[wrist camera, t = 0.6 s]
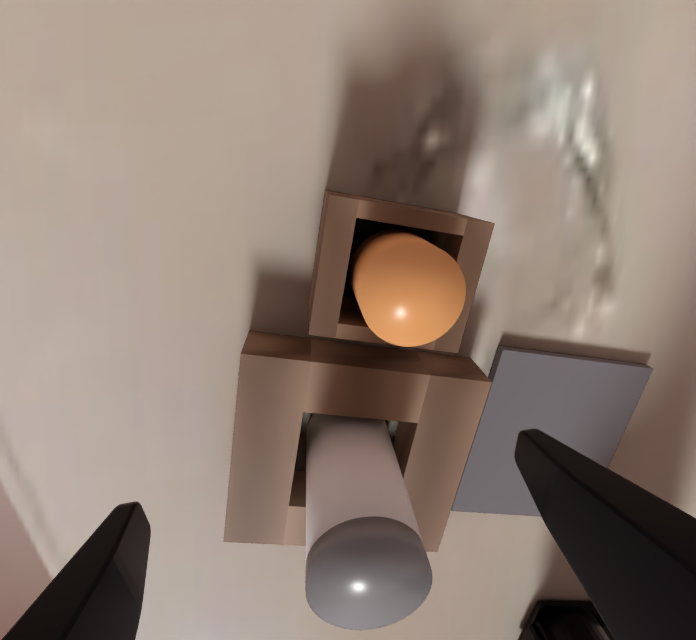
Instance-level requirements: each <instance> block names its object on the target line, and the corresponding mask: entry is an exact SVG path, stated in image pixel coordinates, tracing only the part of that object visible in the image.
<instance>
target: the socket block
mask: <svg viewBox="0 0 696 640" xmlns="http://www.w3.org/2000/svg"><path fill="white" fill-rule="evenodd" d="M356 218H361V219H367V220H373V221H379V222H385V223H391V224H397V225H403V226H409V227H415V228H421V229H426V230H431V232H430V236H429V240H428V242H429V243H431V244H433V245H434V246H436V247H438V248H440V249H441V250H443V251H445V252H446V253H448V254H449V255H450V256H451V257H452V258H453V259H454V260H455V261H456V262H457V264H458V265H459V267H460V269H461V271H462V273H463V276H464V280H465V285H466V296H465V302H464V306H463V309H462V311H461V313H460V316H459V317H458V319H457V321H456V322H455V323H454V325H453V326H452V327H451V328H450V329H449V330H448V331H447V332H446V333H445V334H443V335H442V336H441V337H439V338H438V339H436V340H434V341H432V342H430V343H427V344H424V345H420V346H412V348H420V349H428V350H436V351H444V352H452V353H458V351H459V348H460V344H461V341H462V337H463V334H464V330H465V327H466V323H467V320H468V316H469V313H470V309H471V305H472V302H473V298H474V295H475V291H476V288H477V284H478V281H479V277H480V274H481V270H482V267H483V263H484V260H485V256H486V253H487V249H488V245H489V242H490V238H491V235H492V231H493V228H494V224H495V223H491V222H487V221H483V220H480V219H476V218H472V217H469V216H465V215H461V214H458V213H452V212H446V211H441V210H435V209H429V208H424V207H418V206H412V205H407V204H401V203H395V202H390V201H384V200H378V199H373V198H367V197H361V196H356V195H350V194H344V193H339V192H333V191H327V190H325V194H324V200H323V207H322V214H321V221H320V228H319V235H318V242H317V249H316V255H315V262H314V269H313V276H312V283H311V290H310V297H309V304H308V312H309V335H314V336H322V337H330V338H339V339H347V340H355V341H363V342H371V343H379V344H387V345H394V344H391V343H388V342H386V341H384V340H382V339H381V338H379V337H378V336H377V335H376V334H375V333H373V331H372V330H371V329H370V328H369V326H368V325H367V323H366V321H365V319H364V317H363V315H362V312H361V309H360V307H359V304H358V302H357V299H356V298H352V297H345V296H343V292H344V286H345V280H346V274H347V269H348V263H349V257H350V251H351V245H352V240H353V234H354V228H355V222H356ZM395 346H398V345H395ZM403 347H405V346H403ZM491 383H492V382H491V381H490V380H489V378H488V377H487V376H486V375H485V374H484V373H483V372H482V370H481V369H480V368H479V367H478V366H477V365H476V364H475V362H474V361H473V360H472V359H471V358H467V357H459V356H451V355H443V354H434V353H426V352H418V351H410V350H402V349H393V348H385V347H377V346H369V345H361V344H352V343H344V342H336V341H328V340H320V339H311V338H303V337H295V336H287V335H279V334H270V333H262V332H254V331H249V333H248V336H247V338H246V341H245V344H244V347H243V349H242V352H241V357H240V368H239V379H238V390H237V401H236V412H235V422H234V433H233V444H232V455H231V466H230V477H229V487H228V498H227V509H226V520H225V531H224V541H223V542H237V543H258V544H279V545H300V546H306V471H301V470H294V468H295V462H296V456H297V449H298V443H299V436H300V430H301V423H302V417H303V412H307V413H318V414H328V415H339V416H349V417H360V418H370V419H381V420H391V421H399V422H398V427H397V431H396V435H395V439H394V443H393V448H394V451H395V454H396V458H397V461H398V464H399V467H400V470H401V474H402V477H403V480H404V483H405V487H406V490H407V493H408V496H409V499H410V503H411V506H412V509H413V512H414V515H415V519H416V522H417V525H418V528H419V531H420V535H421V538H422V541H423V544H424V548H425V551H427V552H437V551H438V548H439V545H440V542H441V539H442V536H443V533H444V530H445V527H446V523H447V520H448V517H449V514H450V511H451V508H452V505H453V502H454V499H455V495H456V492H457V489H458V486H459V483H460V480H461V477H462V474H463V471H464V467H465V464H466V461H467V458H468V455H469V452H470V449H471V446H472V443H473V439H474V436H475V433H476V430H477V427H478V424H479V421H480V418H481V415H482V411H483V408H484V405H485V402H486V399H487V396H488V393H489V390H490V387H491Z"/></svg>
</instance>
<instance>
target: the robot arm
mask: <svg viewBox="0 0 696 640" xmlns="http://www.w3.org/2000/svg"><path fill="white" fill-rule="evenodd" d="M514 458H515V462H516V465H517V467H518V469H519V471H520V473H521V475H522V477H523V479H524V481H525V483H526V486H527V488H528V490H529V492H530V494H531V496H532V498H533V500H534V502H535V504H536V506H537V509H538V511H539V513H540V515H541V517H542V519H543V520H544V522H545V524H546V526H547V528H548V529H549V531H550V533H551V534H552V536H553V538H554V539H555V541H556V543H557V544H558V546H559V548H560V549H561V551H562V553H563V554H564V556H565V558H566V559H567V561H568V563H569V564H570V566H571V568H572V569H573V571H574V572H575V574H576V576H577V577H578V579H579V581H580V582H581V584H582V586H583V587H584V589H585V591H586V592H587V594H588V596H589V597H590V599H591V601H592V602H570V601H540V602H539V603H537V605H536V607H535V609H534V611H533V613H532V616H531V618H530V620H529V622H528V624H527V627H526V629H525V631H524V633H523V635H522V638H521V640H696V518H694V517H692V516H691V515H689V514H687V513H685V512H684V511H682V510H680V509H678V508H676V507H675V506H673V505H671V504H669V503H668V502H666V501H664V500H662V499H661V498H659V497H657V496H655V495H654V494H652V493H650V492H648V491H647V490H645V489H643V488H641V487H639V486H638V485H636V484H634V483H632V482H631V481H629V480H627V479H625V478H624V477H622V476H620V475H618V474H617V473H615V472H613V471H611V470H609V469H608V468H606V467H604V466H602V465H601V464H599V463H597V462H595V461H594V460H592V459H590V458H588V457H587V456H585V455H583V454H581V453H579V452H578V451H576V450H574V449H572V448H571V447H569V446H567V445H565V444H564V443H562V442H560V441H558V440H557V439H555V438H553V437H551V436H549V435H548V434H546V433H544V432H542V431H541V430H539V429H536V428H532V429H526V430H522V431H520V432H519V433H518V437H517V442H516V447H515V452H514ZM150 535H151V530H150V524H149V522H148V520H147V517H146V515H145V513H144V511H143V509H142V506H141V505H140V503H139V502H130V503H125V504H120V505H118V506H117V507H115V508H114V510H113V511H112V512H111V513H110V514H109V515H108V517H107V518H106V519H105V520H104V521H103V522H102V524H101V525H100V526H99V527H98V528H97V529H96V530H95V532H94V533H93V534H92V535H91V536H90V537H89V539H88V540H87V541H86V542H85V543H84V544H83V546H82V547H81V548H80V549H79V550H78V551H77V553H76V554H75V555H74V556H73V557H72V558H71V560H70V561H69V562H68V563H67V564H66V565H65V566H64V568H63V569H62V570H61V571H60V572H59V573H58V575H57V576H56V577H55V578H54V579H53V580H52V582H51V583H50V584H49V585H48V586H47V587H46V589H45V590H44V591H43V592H42V593H41V594H40V596H39V597H38V598H37V599H36V600H35V601H34V603H33V604H32V605H31V606H30V607H29V608H28V610H27V611H26V612H25V613H24V614H23V615H22V616H21V618H20V619H19V620H18V621H17V622H16V624H15V625H14V626H13V627H12V628H11V629H10V630H9V632H8V633H7V634H6V635H5V636H4V637H3V638H2V640H135V638H136V633H137V629H138V624H139V619H140V614H141V609H142V602H143V594H144V586H145V578H146V569H147V561H148V552H149V544H150Z"/></svg>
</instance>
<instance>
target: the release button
mask: <svg viewBox="0 0 696 640" xmlns="http://www.w3.org/2000/svg"><path fill="white" fill-rule="evenodd" d="M350 282H351V286H352V289H353V291H354V294H355V297H356V299H357V302H358V304H359V307H360V309H361V312H362V315H363V317H364V319H365V321H366V323H367V325H368V326H369V328H370V329H371V330H372V331H373V333H375V334H376V335H377V336H378V337H379V338H381V339H382V340H384V341H386V342H388V343H391V344H394V345H398V346H405V347H412V346H420V345H424V344H427V343H430V342H432V341H434V340H436V339H438V338H439V337H441V336H442V335H443V334H445V333H446V332H447V331H448V330H449V329H450V328H451V327H452V326H453V325H454V323H455V322H456V321H457V319H458V317H459V316H460V313H461V311H462V309H463V306H464V302H465V296H466V285H465V280H464V276H463V273H462V271H461V269H460V267H459V265H458V264H457V262H456V261H455V260H454V259H453V258H452V257H451V256H450V255H449V254H448V253H446V252H445V251H443V250H441V249H440V248H438V247H436V246H434V245H433V244H431V243H429V242H427V241H426V240H424V239H422V238H421V237H419V236H417V235H415V234H413V233H411V232H409V231H406V230H402V229H388V230H383V231H380V232H377V233H375V234H373V235H372V236H370V237H368V238H367V239H366V240H365V241H364V242H363V243H362V244H361V245H360V246H359V247H358V249H357V250H356V252H355V254H354V256H353V258H352V261H351V265H350Z"/></svg>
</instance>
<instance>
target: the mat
mask: <svg viewBox="0 0 696 640" xmlns="http://www.w3.org/2000/svg"><path fill="white" fill-rule="evenodd" d="M652 371H653V368H651V367H649V366H647V365H646V364H638V363H630V362H622V361H615V360H607V359H599V358H591V357H583V356H576V355H568V354H560V353H552V352H544V351H537V350H529V349H521V348H513V347H505V346H498V349H497V352H496V355H495V359H494V362H493V365H492V368H491V371H490V374H489V377H488V378H489V380H490V381H491V382H492V383H491V387H490V390H489V393H488V396H487V399H486V402H485V405H484V408H483V411H482V415H481V418H480V421H479V424H478V427H477V430H476V433H475V436H474V439H473V443H472V446H471V449H470V452H469V455H468V458H467V461H466V464H465V467H464V471H463V474H462V477H461V480H460V483H459V486H458V489H457V492H456V495H455V499H454V502H453V505H452V508H451V511H462V512H478V513H494V514H509V515H525V516H541V515H540V513H539V511H538V509H537V506H536V504H535V502H534V500H533V498H532V496H531V494H530V492H529V490H528V488H527V486H526V483H525V481H524V479H523V477H522V475H521V473H520V471H519V469H518V467H517V465H516V462H515V458H514V452H515V447H516V442H517V437H518V433H519V432H520V431H522V430H526V429H532V428H536V429H539V430H541V431H542V432H544V433H546V434H548V435H549V436H551V437H553V438H555V439H557V440H558V441H560V442H562V443H564V444H565V445H567V446H569V447H571V448H572V449H574V450H576V451H578V452H579V453H581V454H583V455H585V456H587V457H588V458H590V459H592V460H594V461H595V462H597V463H599V464H601V465H602V466H604V467H606V468H608V466H609V464H610V461H611V459H612V457H613V455H614V453H615V451H616V448H617V446H618V444H619V442H620V440H621V438H622V435H623V433H624V431H625V429H626V427H627V425H628V423H629V420H630V418H631V416H632V414H633V412H634V410H635V407H636V405H637V403H638V401H639V399H640V397H641V394H642V392H643V390H644V388H645V386H646V384H647V381H648V379H649V377H650V375H651V373H652Z"/></svg>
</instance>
